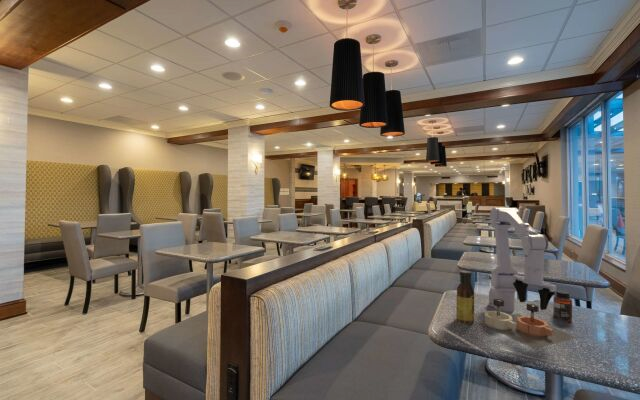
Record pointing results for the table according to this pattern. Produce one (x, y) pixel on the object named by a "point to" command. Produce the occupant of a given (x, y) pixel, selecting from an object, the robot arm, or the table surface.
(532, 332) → the terracotta pot
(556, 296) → the supplement bottle
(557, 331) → the slate board
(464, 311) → the sauce bottle
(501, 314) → the cream pot
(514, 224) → the robot arm
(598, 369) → the table surface
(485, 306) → the table surface
